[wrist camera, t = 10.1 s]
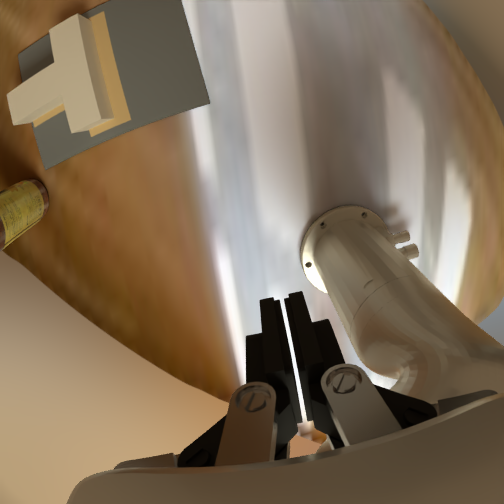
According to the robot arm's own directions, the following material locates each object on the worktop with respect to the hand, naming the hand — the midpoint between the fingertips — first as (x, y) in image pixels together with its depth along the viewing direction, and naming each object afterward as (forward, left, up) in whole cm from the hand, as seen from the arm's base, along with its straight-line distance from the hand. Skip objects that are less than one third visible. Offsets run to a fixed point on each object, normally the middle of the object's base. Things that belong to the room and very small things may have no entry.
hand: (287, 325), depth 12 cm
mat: (+14, -19, -26) cm, 35 cm away
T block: (+19, -19, -26) cm, 38 cm away
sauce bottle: (+29, -7, -26) cm, 40 cm away
